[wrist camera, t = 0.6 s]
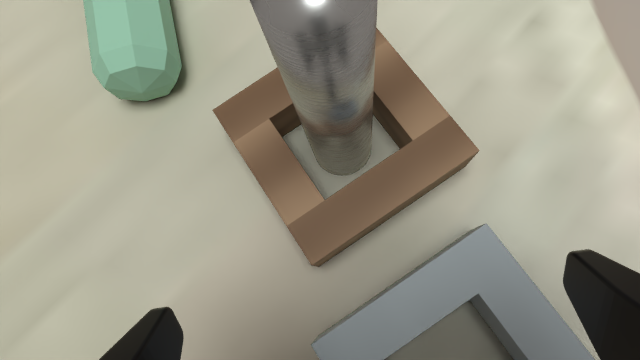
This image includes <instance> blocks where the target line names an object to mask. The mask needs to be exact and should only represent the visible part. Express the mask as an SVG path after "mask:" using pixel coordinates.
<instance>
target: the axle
mask: <svg viewBox="0 0 640 360" xmlns="http://www.w3.org/2000/svg"><path fill="white" fill-rule="evenodd" d="M250 2H251V4H252V7H253V9H254V12H255V14H256V16H257V19H258V21H259V23H260V26H261V28H262V31H263V33H264V35H265V38H266V40H267V43H268V45H269V47H270V50H271V52H272V55H273V57H274V59H275V62H276V64H277V67H278V69H279V71H280V74H281V76H282V78H283V81H284V83H285V86H286V88H287V90H288V93H289V95H290V98H291V100H292V102H293V105H294V107H295V110H296V112H297V114H298V117H299V119H300V121H301V124H302V126H303V129H304V131H305V133H306V136H307V138H308V141H309V143H310V145H311V148H312V150H313V153H314V155H315V157H316V160H317V162H318V163H319V164H320V166H321V167H322V168H323V169H325V170H326V171H328V172H330V173H332V174H336V175H348V174H352V173H354V172H356V171H358V170H359V169H361V168H362V167H363V166H364V165H365V164H366V162H367V161H368V159H369V156H370V153H371V141H372V117H373V92H374V68H375V44H376V20H377V0H250Z"/></svg>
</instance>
